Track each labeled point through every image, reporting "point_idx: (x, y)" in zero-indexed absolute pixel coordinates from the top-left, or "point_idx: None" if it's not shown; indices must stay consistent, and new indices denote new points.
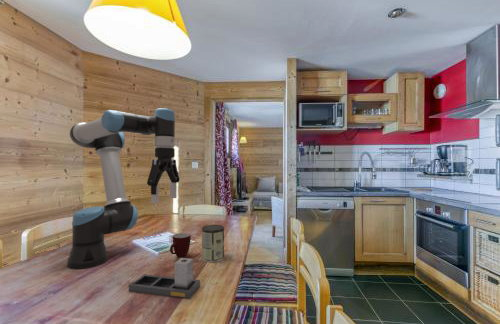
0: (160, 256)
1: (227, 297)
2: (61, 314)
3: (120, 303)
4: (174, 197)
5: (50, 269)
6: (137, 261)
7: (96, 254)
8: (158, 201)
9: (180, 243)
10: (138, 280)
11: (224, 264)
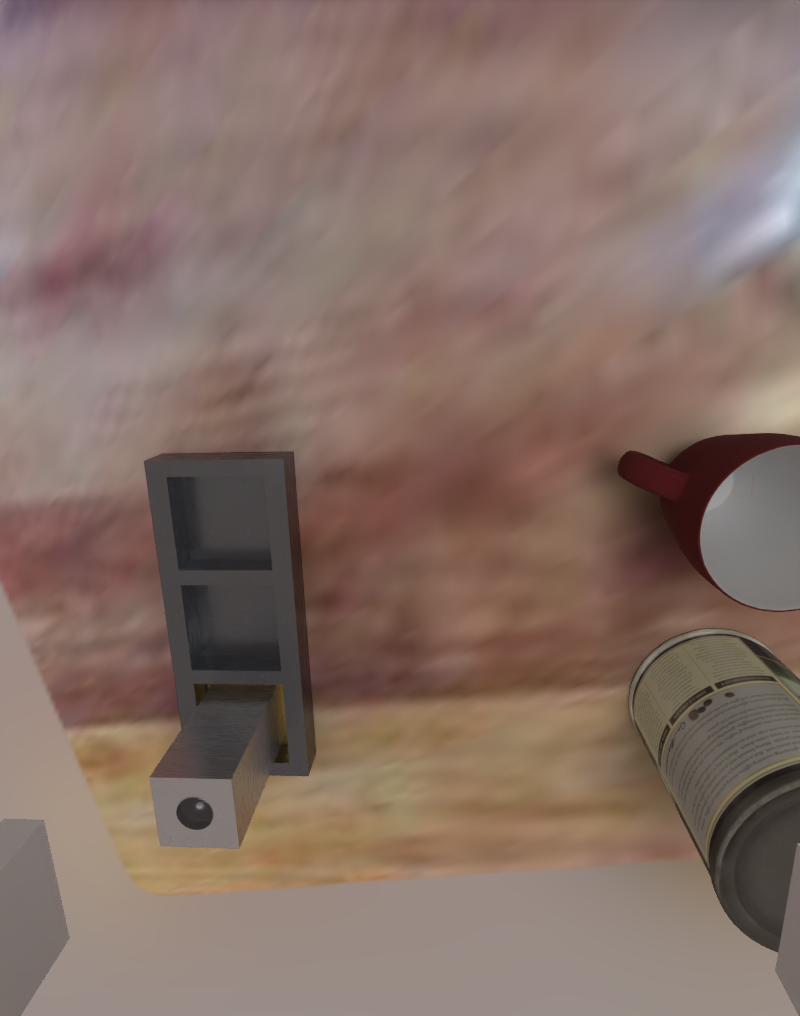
0: (686, 312)
1: (270, 876)
2: None
3: (75, 481)
4: (788, 963)
5: None
6: (557, 189)
7: None
8: (38, 968)
9: (679, 542)
10: (205, 476)
11: (608, 787)
